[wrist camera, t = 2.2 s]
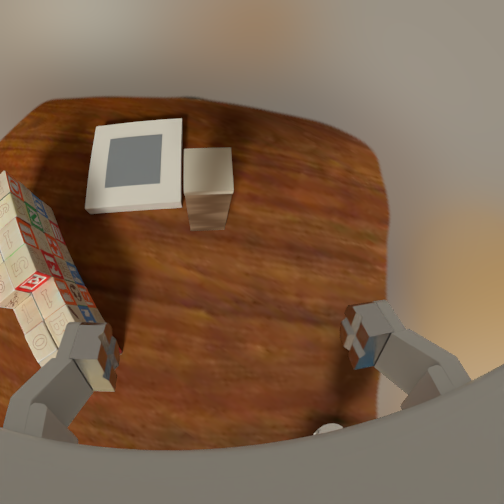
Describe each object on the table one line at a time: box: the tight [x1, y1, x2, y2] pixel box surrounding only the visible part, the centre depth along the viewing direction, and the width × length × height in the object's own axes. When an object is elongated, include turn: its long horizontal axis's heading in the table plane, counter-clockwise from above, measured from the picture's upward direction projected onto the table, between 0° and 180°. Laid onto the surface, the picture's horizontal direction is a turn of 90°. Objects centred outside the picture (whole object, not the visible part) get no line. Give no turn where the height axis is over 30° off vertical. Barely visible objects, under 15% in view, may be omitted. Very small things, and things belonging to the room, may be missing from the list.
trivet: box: [85, 118, 183, 214], centre depth 35 cm, size 12×12×2 cm
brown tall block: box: [184, 147, 234, 231], centre depth 31 cm, size 4×4×12 cm
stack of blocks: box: [0, 171, 122, 368], centre depth 26 cm, size 21×6×12 cm, turn 34°
